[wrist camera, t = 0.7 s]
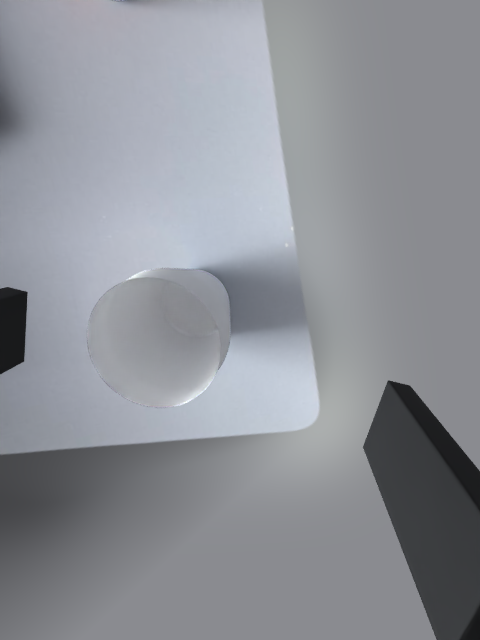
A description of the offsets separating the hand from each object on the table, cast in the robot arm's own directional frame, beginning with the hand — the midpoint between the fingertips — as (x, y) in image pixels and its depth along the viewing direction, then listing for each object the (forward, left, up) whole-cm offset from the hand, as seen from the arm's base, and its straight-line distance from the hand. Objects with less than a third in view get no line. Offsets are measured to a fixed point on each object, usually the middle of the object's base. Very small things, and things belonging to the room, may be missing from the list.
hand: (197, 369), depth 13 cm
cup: (+5, +1, -21) cm, 22 cm away
